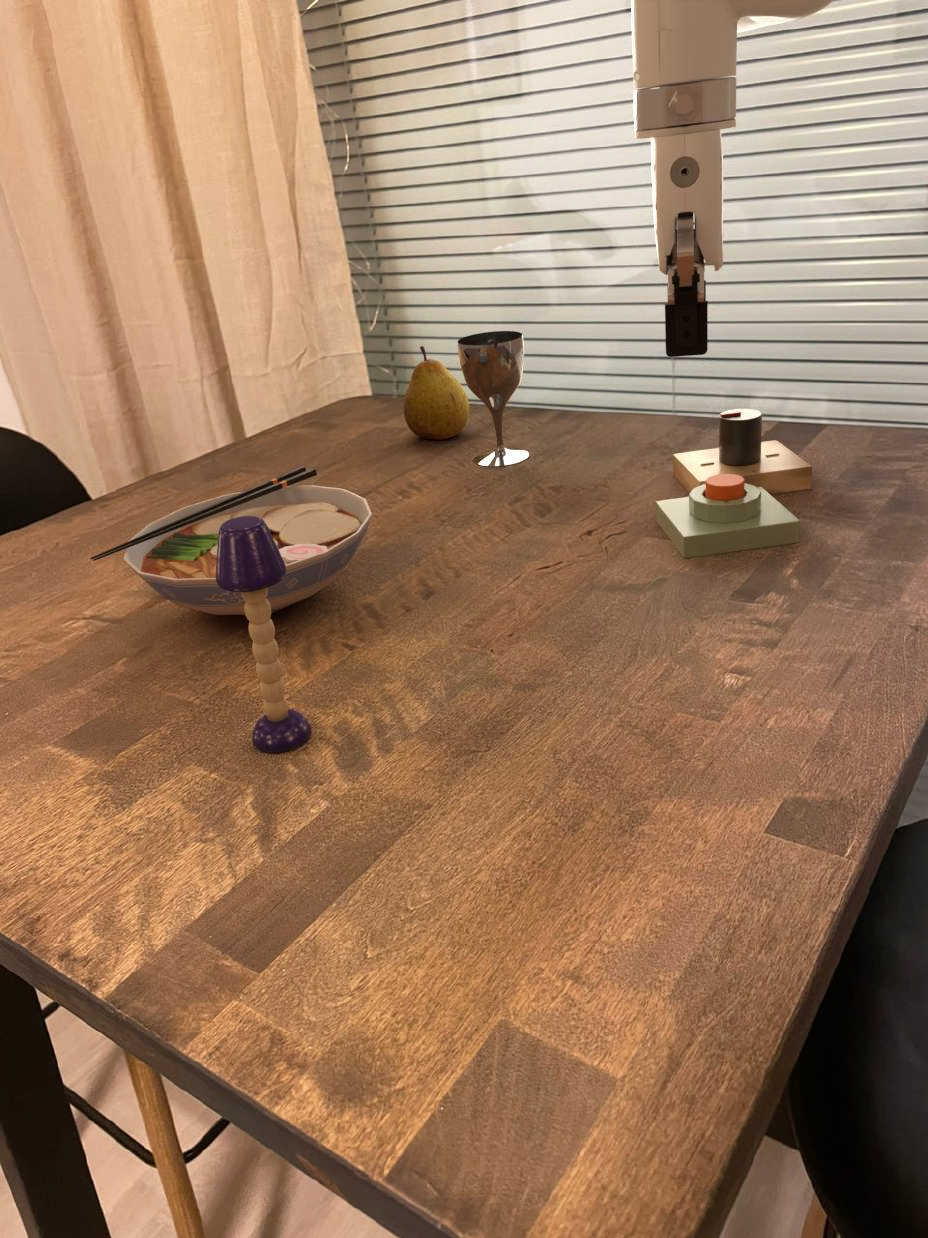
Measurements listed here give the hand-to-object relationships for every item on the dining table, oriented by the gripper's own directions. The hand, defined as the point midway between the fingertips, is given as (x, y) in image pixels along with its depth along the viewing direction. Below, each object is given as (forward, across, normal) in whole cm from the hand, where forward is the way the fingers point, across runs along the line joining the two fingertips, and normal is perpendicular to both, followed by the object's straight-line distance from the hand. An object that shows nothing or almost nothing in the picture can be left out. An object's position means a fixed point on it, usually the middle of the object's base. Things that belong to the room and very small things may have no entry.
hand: (686, 341), depth 81 cm
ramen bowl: (+20, -7, +39) cm, 45 cm away
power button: (+16, +7, -3) cm, 18 cm away
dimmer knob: (+17, +21, -5) cm, 28 cm away
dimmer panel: (+20, +21, -5) cm, 29 cm away
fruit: (+20, +44, +34) cm, 60 cm away
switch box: (+20, +7, -3) cm, 21 cm away
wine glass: (+20, +33, +23) cm, 45 cm away
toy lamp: (+20, -30, +28) cm, 46 cm away
